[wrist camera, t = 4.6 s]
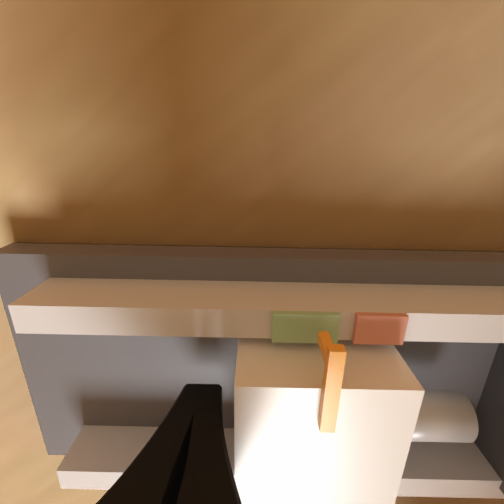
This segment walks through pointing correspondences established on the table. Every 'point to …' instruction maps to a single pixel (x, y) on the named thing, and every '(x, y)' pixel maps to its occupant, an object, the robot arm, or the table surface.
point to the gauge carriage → (333, 421)
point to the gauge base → (245, 326)
